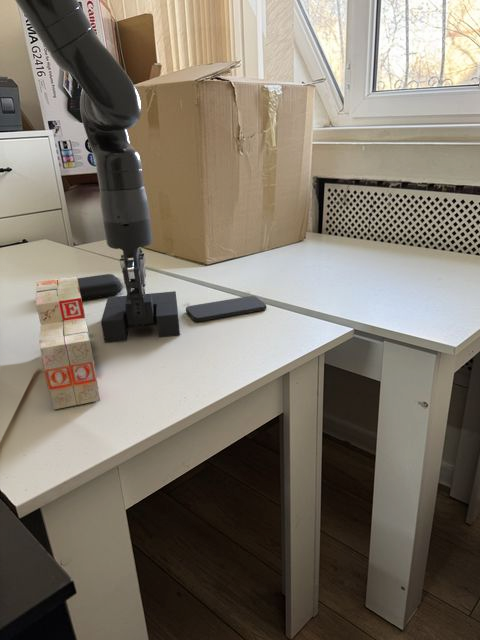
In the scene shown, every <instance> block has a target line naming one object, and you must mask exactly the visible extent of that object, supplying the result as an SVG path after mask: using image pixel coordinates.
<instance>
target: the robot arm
mask: <svg viewBox="0 0 480 640" xmlns="http://www.w3.org/2000/svg"><path fill="white" fill-rule="evenodd" d="M14 1H15V3H16V4H17V5H18V8H19V9H20V10H21V12H22V13H23V14H24V16H25V18H26V20H27V21H28V22H29V24H30V25H31V27H32V29H33V31H34V32H35V33H36V35H37V36H38V38H39V40H40V41H41V44H43V46H44V47H45V49H46V51H47V52H48V53H49V55H50V57H51V58H52V60H53V61H54V63H55V64H56V65H57V66H58V67H59V68H60V69H61V70H62V71H64V72H65V73H68V74H70V75H71V76H72V77H73V78H74V79H75V81H76V82H77V84H78V85H79V86H80V88H81V89H82V90H81V93H80V97H79V98H80V99H79V109H80V110H79V111H80V117H81V121H82V125H83V128H84V130H85V132H84V133H85V134H86V137H87V140H88V143H89V146H90V149H91V152H92V154H93V157H94V160H95V167H96V175H97V181H98V187H99V200H100V209H101V216H102V222H103V229H104V234H105V239H106V245H107V247H109V248H111V249H114V250H120V251H122V254H120V258H119V266H120V268H121V272H122V277H123V284H124V286H125V289H126V296H127V297H128V299H129V300H131V307H132V314H133V318H134V319H135V320H137V319H145V318H146V310H145V303H144V296H145V294H146V276H147V272H146V271H147V270H146V256H145V253H144V252H143V250H142V248H145V247H148V246H150V245H151V244H152V243H153V241H154V240H153V231H152V223H151V221H152V220H151V214H150V207H149V200H148V196H147V192H146V191H147V190H146V186H145V180H144V171H143V165H142V159H141V156H140V153H139V152H138V150H137V149H136V148H134V147H133V146H132V145H131V142H130V137H129V134H128V130H129V129H132V128H133V127H135V126H136V125H137V123H138V122H139V121H140V118H141V115H142V103H141V102H142V101H141V98H140V94H139V92H138V90H137V88H136V86H135V84H134V82H133V81H132V79H131V78H130V76H129V74H128V73H127V72H126V71H125V70H124V68H123V67H122V66H121V65H120V63H119V61H118V60H117V59H116V58H115V57H114V56H113V54H112V53H111V52H110V51H109V49H107V48H106V46H105V45H104V44H103V42H101V40H100V38H99V37H98V35H97V33H96V30H95V29H94V28H93V26H92V24H91V21H90V20H89V18H88V17H87V15H86V13H85V12H84V9H83V8H82V6H81V5H80V3H79V1H78V0H14Z"/></svg>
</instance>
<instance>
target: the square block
mask: <svg viewBox="0 0 480 640" xmlns="http://www.w3.org/2000/svg"><path fill="white" fill-rule="evenodd" d="M144 303H145V310H146V318H145V319H137V320H135V319H134V318H133V314H132V307H131V300H129V299H128V297H126V303H125V306H126V313H127V319H128V325H138V324H149V323H154V309H153V301H152V294H150V293H145V296H144Z"/></svg>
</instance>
